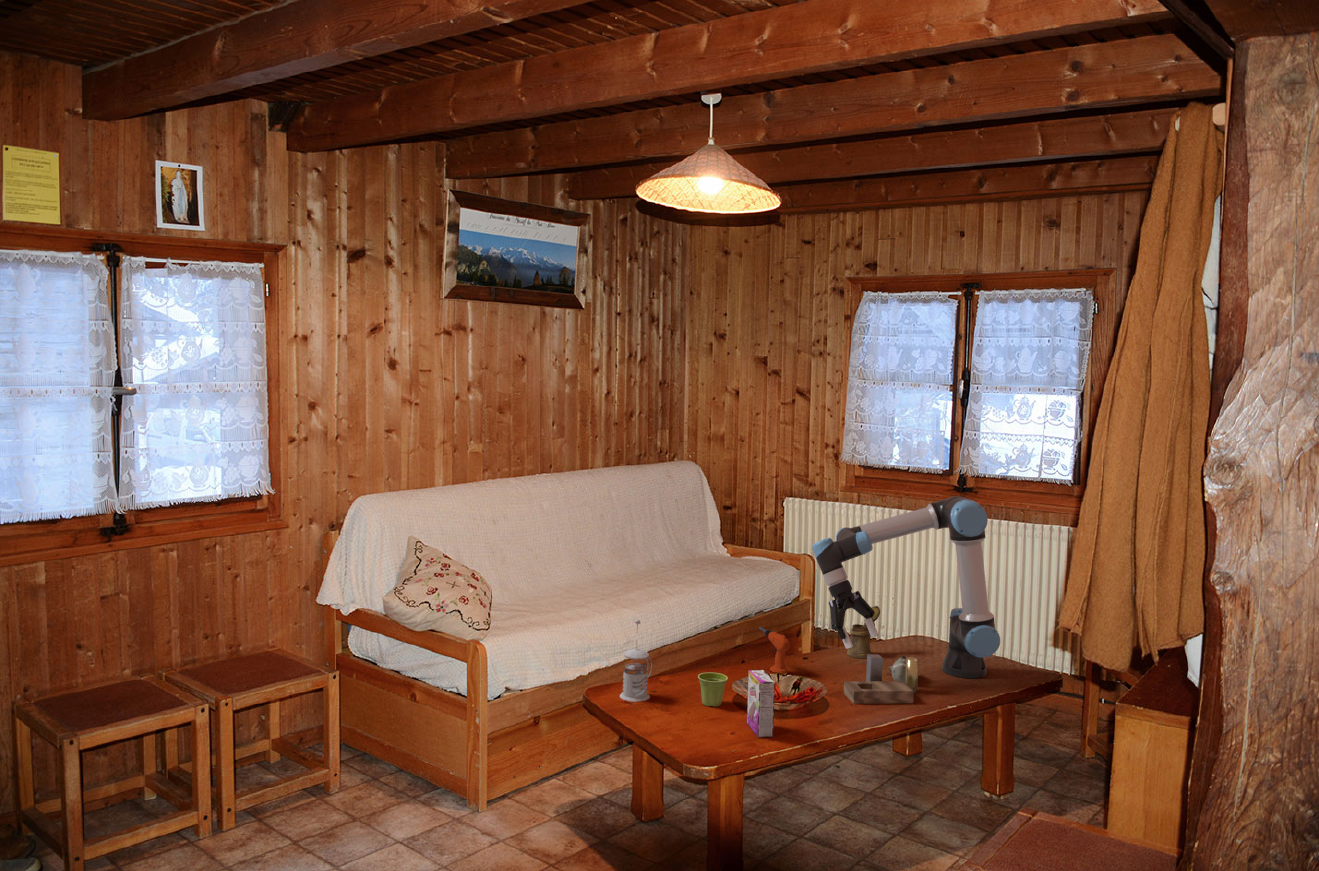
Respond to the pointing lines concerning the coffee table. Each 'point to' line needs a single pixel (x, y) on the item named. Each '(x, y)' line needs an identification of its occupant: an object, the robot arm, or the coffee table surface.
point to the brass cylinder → (912, 673)
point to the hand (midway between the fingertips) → (862, 642)
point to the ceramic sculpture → (898, 669)
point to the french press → (635, 675)
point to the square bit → (874, 668)
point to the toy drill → (778, 649)
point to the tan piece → (861, 638)
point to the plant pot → (712, 688)
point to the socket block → (878, 692)
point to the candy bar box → (760, 703)
